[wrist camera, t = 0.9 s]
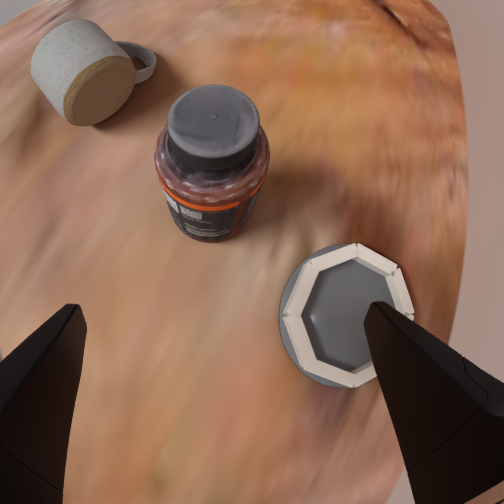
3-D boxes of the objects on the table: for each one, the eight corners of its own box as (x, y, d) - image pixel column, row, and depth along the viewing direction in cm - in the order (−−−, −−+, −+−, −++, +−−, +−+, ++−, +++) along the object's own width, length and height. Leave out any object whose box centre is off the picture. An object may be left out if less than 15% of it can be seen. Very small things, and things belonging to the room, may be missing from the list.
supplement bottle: (242, 165, 24) (269, 65, 13) (256, 238, 23) (301, 170, 12) (166, 176, 23) (144, 76, 12) (175, 251, 22) (148, 190, 11)
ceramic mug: (80, 147, 23) (49, 92, 15) (45, 101, 23) (18, 50, 16) (176, 80, 25) (174, 17, 18) (130, 44, 26) (122, -11, 18)
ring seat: (375, 401, 22) (385, 406, 20) (253, 355, 21) (257, 358, 20) (419, 280, 25) (430, 277, 23) (312, 221, 24) (319, 215, 23)
